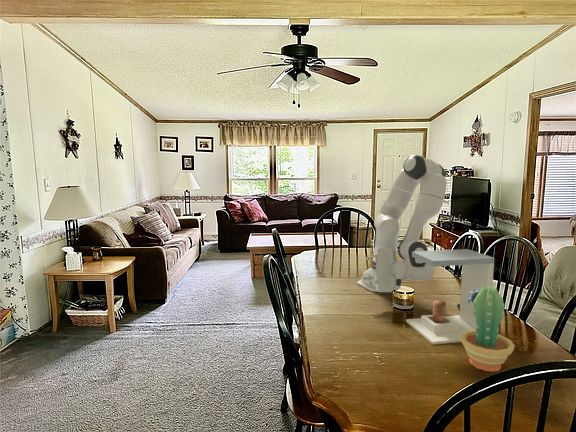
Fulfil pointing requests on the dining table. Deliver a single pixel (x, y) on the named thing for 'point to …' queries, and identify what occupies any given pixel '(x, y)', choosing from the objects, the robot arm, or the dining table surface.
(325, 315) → the dining table surface
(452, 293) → the dining table surface
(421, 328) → the awning socket
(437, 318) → the peg
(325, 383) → the dining table surface
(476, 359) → the potted cactus
